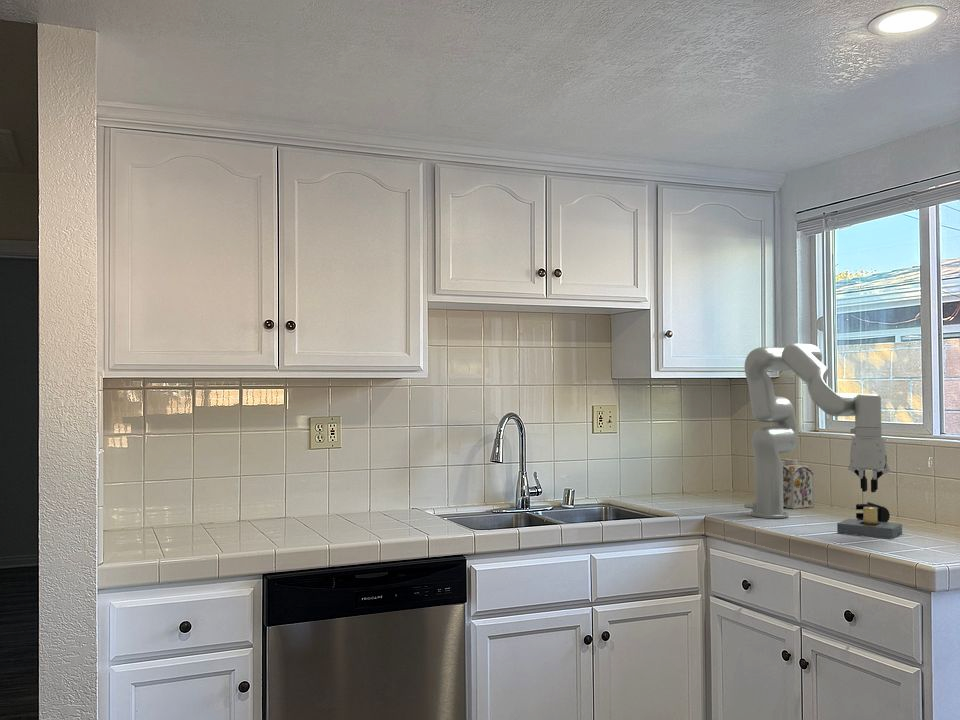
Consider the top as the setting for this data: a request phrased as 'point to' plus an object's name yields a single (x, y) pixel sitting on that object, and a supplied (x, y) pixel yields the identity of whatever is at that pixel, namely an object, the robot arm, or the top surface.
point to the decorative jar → (797, 485)
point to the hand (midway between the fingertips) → (869, 491)
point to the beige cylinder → (870, 515)
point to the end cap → (882, 512)
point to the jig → (869, 528)
